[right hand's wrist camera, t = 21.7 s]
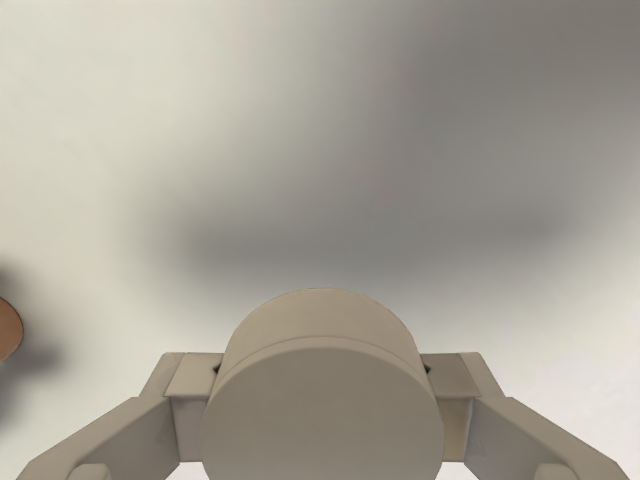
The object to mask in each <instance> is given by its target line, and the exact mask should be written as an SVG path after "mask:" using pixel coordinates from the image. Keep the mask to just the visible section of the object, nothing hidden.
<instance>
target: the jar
mask: <svg viewBox="0 0 640 480" xmlns="http://www.w3.org/2000/svg"><path fill="white" fill-rule="evenodd" d="M22 337H23V327H22V323H21V320H20V318H19V316H18V315H17V313H16V312H15V310H14V309H13V308H12V307H11V306H10V305H9V304H8V303H7V302H5V301H4V300H3V299H1V298H0V364H1V363H2V362H3V361H4V360H5V359H6V358H7V357H8V356H9V355H11V354H12V353H13V352H14V351H15V350H16V349H17V348H18V346H19V345H20V343H21V341H22Z"/></svg>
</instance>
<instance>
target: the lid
mask: <svg viewBox="0 0 640 480" xmlns="http://www.w3.org/2000/svg"><path fill="white" fill-rule="evenodd" d="M445 445H446V436H445V427H444V422H443V418H442V415H441V412H440V409H439V407H438V404H437V401H436V398H435V396H434V393H433V390H432V388H431V385H430V382H429V379H428V377H427V373H426V371H425V368H424V365H423V363H422V360H421V357H420V355H419V351H418V349H417V346H416V344H415V341H414V339H413V337H412V335H411V334H410V332H409V331H408V329H407V327H406V326H405V325H404V324H403V323H402V321H401V320H400V319H399V318H398V317H397V316H396V315H395V314H393V313H392V312H391V311H390V310H389V309H387V308H386V307H384V306H383V305H381V304H380V303H378V302H376V301H374V300H372V299H370V298H368V297H366V296H363V295H360V294H357V293H354V292H350V291H346V290H341V289H332V288H311V289H304V290H298V291H294V292H290V293H286V294H284V295H281V296H279V297H276V298H274V299H272V300H270V301H268V302H266V303H264V304H263V305H261V306H260V307H258V308H257V309H255V310H254V311H253V312H251V313H250V314H249V315H248V316H247V317H246V318H245V319H244V320H243V321H242V322H241V323H240V325H239V326H238V327H237V329H236V330H235V331H234V333H233V335H232V337H231V338H230V340H229V343H228V345H227V348H226V351H225V354H224V357H223V360H222V363H221V366H220V368H219V371H218V374H217V377H216V380H215V383H214V386H213V389H212V392H211V395H210V398H209V400H208V403H207V406H206V409H205V412H204V415H203V418H202V421H201V426H200V431H199V449H200V455H201V460H202V463H203V466H204V469H205V472H206V473H207V475H208V477H209V479H210V480H435V478H436V476H437V474H438V472H439V470H440V468H441V465H442V461H443V458H444V454H445Z"/></svg>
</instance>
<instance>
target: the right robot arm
mask: <svg viewBox="0 0 640 480" xmlns="http://www.w3.org/2000/svg"><path fill="white" fill-rule="evenodd" d="M224 354H225V353H190V352H187V353H185V352H166V353H165V354H163V355H162V356H161V358H160V360H159V362H158V363H157V365H156V367H155V369H154V370H153V372H152V374H151V376H150V377H149V379H148V381H147V383H146V384H145V386H144V388H143V390H142V391H141V393H140V395H139V397H131V398H130V399H128V400H127V401H125V402H123V403H122V404H120V405H119V406H117V407H116V408H114V409H112V410H111V411H109V412H108V413H106V414H104V415H103V416H101V417H100V418H98V419H96V420H95V421H93V422H92V423H90V424H88V425H87V426H85V427H84V428H82V429H81V430H79V431H77V432H76V433H74V434H73V435H71V436H69V437H68V438H66V439H65V440H63V441H61V442H60V443H58V444H57V445H55V446H53V447H52V448H50V449H49V450H47V451H46V452H44V453H42V454H41V455H39V456H38V457H36V458H34V459H33V460H31V461H30V462H29V463H28V464H27V466H26V467H25V468H24V469H23V471H22V472H21V473H20V475H19V476H18V477H17V479H16V480H165V479H166V478H167V477H168V476H169V475H170V474H171V473H172V472H173V471H174V470H175V469H176V468H177V467H178V466H179V465H180V464H179V462H202V460H201V455H200V449H199V431H200V426H201V421H202V418H203V415H204V412H205V409H206V406H207V403H208V400H209V398H210V395H211V392H212V389H213V386H214V383H215V380H216V377H217V374H218V371H219V368H220V366H221V363H222V360H223V357H224ZM419 355H420V357H421V360H422V363H423V365H424V368H425V371H426V373H427V377H428V379H429V382H430V385H431V388H432V390H433V393H434V396H435V398H436V401H437V404H438V407H439V409H440V412H441V415H442V418H443V422H444V427H445V436H446V445H445V454H444V458H443V461H442V462H464V465H465V466H466V467H467V468H468V469H469V470H470V471H471V472H472V473H473V474H474V475H475V476H476V477H477V478H478V479H479V480H630V479H629V478H628V477H627V475H626V474H625V473H624V472H623V470H622V469H621V468H620V466H619V465H618V464H617V462H615V461H614V460H612V459H610V458H609V457H607V456H606V455H604V454H602V453H601V452H599V451H598V450H596V449H594V448H593V447H591V446H590V445H588V444H586V443H585V442H583V441H582V440H580V439H578V438H577V437H575V436H574V435H572V434H570V433H569V432H567V431H566V430H564V429H562V428H561V427H559V426H558V425H556V424H554V423H553V422H551V421H550V420H548V419H546V418H545V417H543V416H542V415H540V414H538V413H537V412H535V411H534V410H532V409H530V408H529V407H527V406H526V405H524V404H522V403H521V402H519V401H518V400H516V399H514V398H513V397H506V396H505V395H504V393H503V391H502V390H501V388H500V386H499V385H498V383H497V381H496V380H495V378H494V376H493V374H492V373H491V371H490V369H489V368H488V366H487V364H486V363H485V361H484V359H483V358H482V356H481V354H479V353H478V352H465V353H440V354H419Z"/></svg>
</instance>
